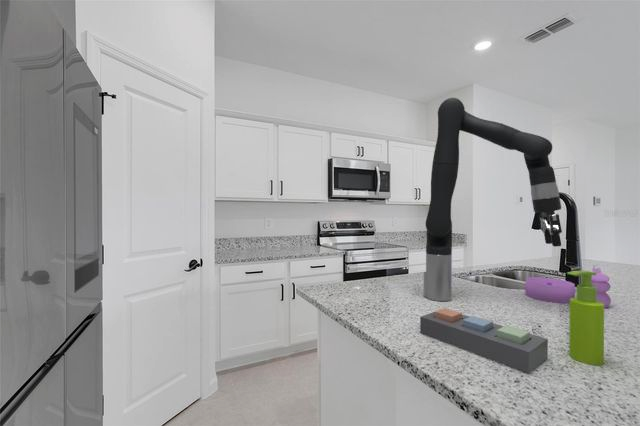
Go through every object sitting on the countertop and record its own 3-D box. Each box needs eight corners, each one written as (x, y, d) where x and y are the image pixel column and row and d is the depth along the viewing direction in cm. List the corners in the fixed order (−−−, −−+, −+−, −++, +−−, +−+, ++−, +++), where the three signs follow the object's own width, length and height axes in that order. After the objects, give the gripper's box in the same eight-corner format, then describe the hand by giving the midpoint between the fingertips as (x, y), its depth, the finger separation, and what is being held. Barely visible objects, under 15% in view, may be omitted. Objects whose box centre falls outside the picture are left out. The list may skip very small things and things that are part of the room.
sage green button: (496, 342, 70) (496, 330, 70) (506, 337, 73) (506, 325, 73) (521, 350, 66) (521, 337, 66) (529, 344, 69) (529, 331, 69)
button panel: (420, 332, 83) (420, 316, 83) (442, 324, 90) (442, 309, 90) (528, 373, 62) (528, 352, 62) (547, 358, 69) (547, 338, 69)
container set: (520, 297, 118) (520, 263, 118) (531, 290, 129) (531, 259, 128) (608, 313, 100) (608, 273, 100) (612, 304, 110) (613, 268, 110)
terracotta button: (434, 322, 83) (434, 311, 83) (444, 318, 86) (444, 308, 86) (451, 328, 79) (451, 316, 79) (461, 323, 82) (461, 312, 82)
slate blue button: (463, 331, 77) (463, 320, 77) (472, 327, 80) (473, 315, 80) (483, 338, 73) (483, 326, 73) (493, 333, 76) (493, 321, 75)
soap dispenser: (558, 353, 71) (559, 269, 71) (585, 352, 72) (586, 268, 72) (582, 366, 66) (582, 274, 65) (611, 364, 66) (612, 273, 66)
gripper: (527, 199, 110) (535, 243, 110) (536, 198, 97) (545, 248, 97) (552, 196, 107) (560, 241, 106) (565, 194, 94) (574, 246, 93)
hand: (553, 244), depth 102 cm, fingers open, 8 cm apart
